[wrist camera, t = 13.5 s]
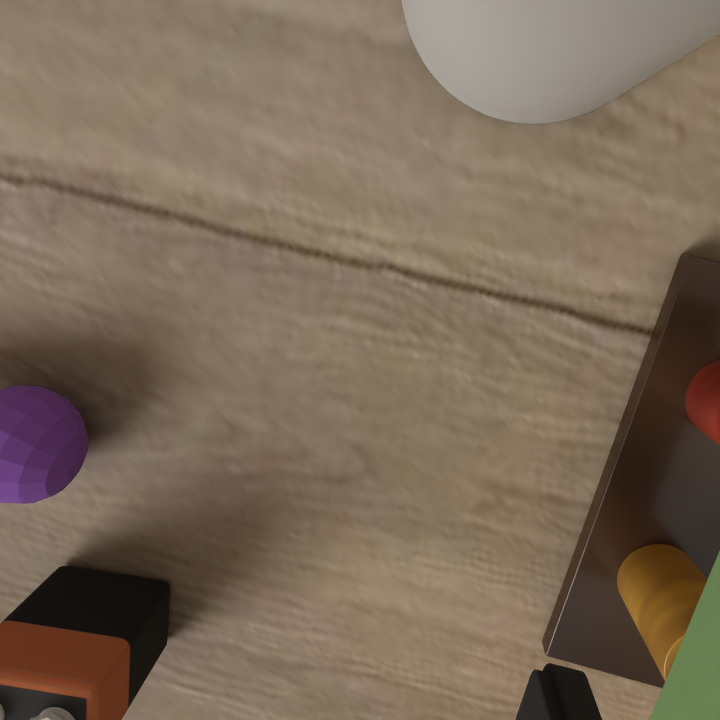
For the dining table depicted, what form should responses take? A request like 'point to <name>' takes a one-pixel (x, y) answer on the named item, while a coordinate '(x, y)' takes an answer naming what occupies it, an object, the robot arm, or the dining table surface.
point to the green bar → (696, 663)
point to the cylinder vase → (553, 50)
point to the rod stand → (652, 500)
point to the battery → (81, 645)
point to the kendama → (38, 443)
